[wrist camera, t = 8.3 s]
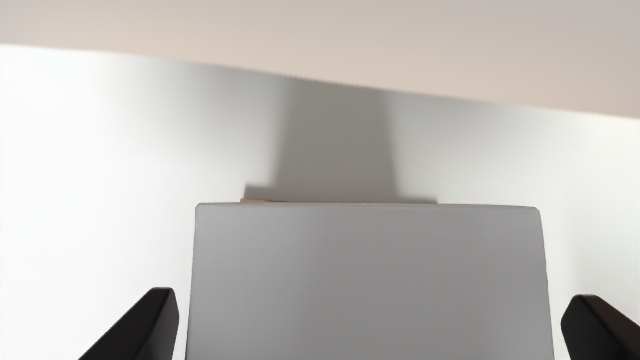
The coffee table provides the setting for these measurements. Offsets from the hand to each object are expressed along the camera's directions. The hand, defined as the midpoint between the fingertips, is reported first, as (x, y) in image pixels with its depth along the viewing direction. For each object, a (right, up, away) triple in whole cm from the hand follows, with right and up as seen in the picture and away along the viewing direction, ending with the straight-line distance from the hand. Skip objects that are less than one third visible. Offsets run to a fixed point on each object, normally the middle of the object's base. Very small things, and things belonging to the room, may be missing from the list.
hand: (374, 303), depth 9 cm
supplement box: (0, -4, +11) cm, 12 cm away
